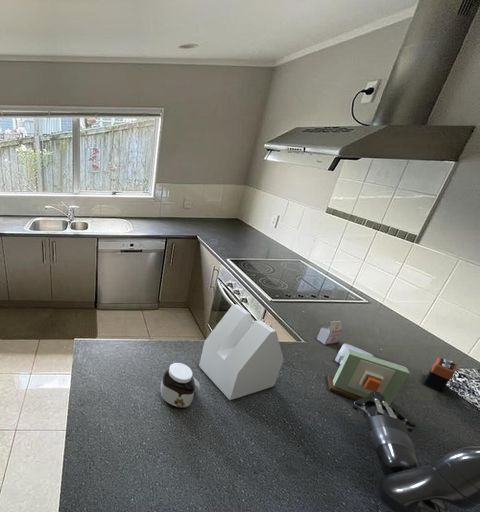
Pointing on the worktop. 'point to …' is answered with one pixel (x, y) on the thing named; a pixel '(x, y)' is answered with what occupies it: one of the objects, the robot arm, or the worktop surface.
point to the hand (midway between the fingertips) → (375, 393)
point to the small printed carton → (330, 332)
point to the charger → (344, 350)
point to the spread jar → (178, 386)
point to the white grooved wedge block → (241, 354)
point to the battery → (440, 374)
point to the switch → (372, 384)
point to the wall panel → (357, 372)
